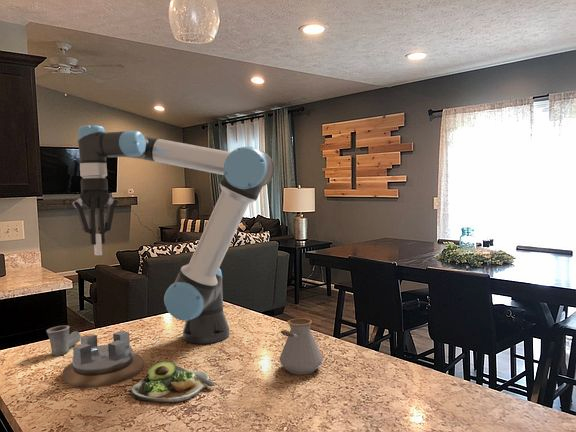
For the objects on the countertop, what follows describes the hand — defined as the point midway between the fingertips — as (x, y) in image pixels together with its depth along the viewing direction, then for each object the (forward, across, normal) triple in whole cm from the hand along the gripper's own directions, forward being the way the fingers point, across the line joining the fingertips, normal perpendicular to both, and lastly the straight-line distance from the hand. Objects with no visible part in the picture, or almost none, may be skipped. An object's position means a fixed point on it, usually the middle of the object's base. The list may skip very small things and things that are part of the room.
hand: (98, 254), depth 140 cm
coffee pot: (+30, -31, +56) cm, 71 cm away
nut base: (+29, +5, +19) cm, 35 cm away
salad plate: (+30, -4, +40) cm, 50 cm away
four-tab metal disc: (+27, +5, +19) cm, 34 cm away
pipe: (+30, +10, -7) cm, 32 cm away
